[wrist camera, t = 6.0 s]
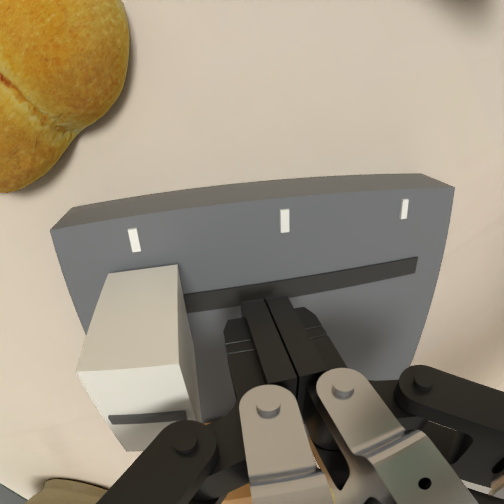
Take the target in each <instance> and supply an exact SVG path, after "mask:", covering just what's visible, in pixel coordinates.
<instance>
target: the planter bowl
mask: <svg viewBox="0 0 504 504" xmlns="http://www.w3.org/2000/svg"><path fill="white" fill-rule="evenodd" d="M107 491H108V490H105V489H102V488H99V487H96V486H93V485H89V484H85V483H81V482H76V481H70V480H62V479H52V480H48V481H46V482H45V484H44V487H43V490H42V491H41V492H39V493H37V494H36V495H34V496H33V497H32V498H30V499H29V500H28V501H27V502H26V503H25V504H96V503H97V502H98V501H99V500H100V498H101V497H102V496H103V495H104V494H105V493H106V492H107Z"/></svg>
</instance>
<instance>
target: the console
mask: <svg viewBox="0 0 504 504" xmlns="http://www.w3.org/2000/svg"><path fill="white" fill-rule="evenodd" d="M454 190H455V187H453V186H450V185H448V184H446V183H443V182H441V181H438V180H436V179H433V178H431V177H428V176H426V175H423V174H373V175H347V176H327V177H311V178H296V179H283V180H270V181H259V182H248V183H238V184H229V185H220V186H211V187H202V188H194V189H186V190H178V191H171V192H164V193H157V194H150V195H143V196H137V197H130V198H124V199H118V200H112V201H106V202H100V203H95V204H89V205H84V206H79V207H73V208H71V209H70V210H69V211H68V212H67V213H66V214H65V215H64V216H63V217H62V218H61V219H60V220H59V221H58V222H57V223H56V224H55V225H54V226H53V227H52V229H51V230H50V233H51V236H52V240H53V243H54V247H55V250H56V254H57V257H58V260H59V263H60V266H61V270H62V273H63V276H64V279H65V281H66V284H67V287H68V290H69V293H70V296H71V298H72V301H73V304H74V306H75V309H76V312H77V314H78V317H79V319H80V322H81V324H82V326H83V329H84V331H85V334H86V335H87V332H88V329H89V326H90V323H91V320H92V317H93V314H94V311H95V308H96V305H97V303H98V300H99V297H100V294H101V291H102V289H103V286H104V283H105V281H106V278H107V276H108V274H109V273H116V272H124V271H131V270H139V269H146V268H154V267H161V266H169V265H176V264H178V269H179V275H180V281H181V286H182V291H183V297H184V302H185V307H186V312H187V317H188V322H189V326H190V331H191V336H192V340H193V345H194V354H195V364H196V374H197V384H198V393H199V401H200V410H201V418H202V423H203V424H204V423H211V422H214V421H216V420H218V419H220V418H222V417H224V416H225V415H227V414H228V413H229V412H230V411H231V410H232V408H233V407H234V405H235V403H236V398H235V393H234V389H233V384H232V380H231V375H230V371H229V366H228V360H227V353H226V346H225V339H224V332H223V331H224V328H225V326H226V323H227V320H230V319H236V318H242V317H241V302H245V301H251V300H257V299H264V298H269V297H275V296H281V295H287V296H288V298H289V300H290V302H291V304H292V306H293V307H294V308H299V307H305V308H307V309H308V310H309V311H311V312H312V313H314V314H315V315H316V316H317V318H318V320H319V321H320V323H321V325H322V327H323V328H324V329H325V331H326V333H327V336H329V338H330V339H331V341H332V343H333V344H334V346H335V347H336V349H337V351H338V352H339V354H340V356H341V357H342V359H343V361H344V362H345V364H346V366H347V367H348V368H349V369H353V370H355V371H358V372H359V373H361V374H362V375H363V376H364V377H365V378H366V379H367V380H373V381H381V380H399V377H400V375H401V373H402V372H403V371H404V370H405V369H406V368H408V367H410V365H411V362H412V360H413V357H414V354H415V351H416V349H417V346H418V343H419V340H420V337H421V334H422V331H423V328H424V325H425V322H426V318H427V315H428V312H429V308H430V305H431V301H432V298H433V294H434V291H435V287H436V283H437V279H438V275H439V271H440V267H441V262H442V258H443V253H444V249H445V244H446V239H447V234H448V228H449V223H450V217H451V211H452V204H453V197H454ZM304 427H305V431H306V434H307V437H308V436H309V432H308V430H307V427H306V425H305V424H304Z"/></svg>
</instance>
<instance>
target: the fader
mask: <svg viewBox="0 0 504 504" xmlns="http://www.w3.org/2000/svg"><path fill="white" fill-rule="evenodd" d="M76 373H77V375H78V377H79V379H80V380H81V382H82V384H83V386H84V387H85V389H86V391H87V393H88V394H89V396H90V398H91V399H92V401H93V403H94V404H95V406H96V407H97V409H98V411H99V412H100V414H101V415H102V417H103V418H104V420H105V421H106V423H107V424H108V426H109V427H110V429H111V430H112V432H113V433H114V435H115V436H116V438H117V439H118V440H119V442H120V443H121V445H122V446H123V447H124V449H125V450H126V451H144V450H145V449H146V448H147V447H148V446H149V444H150V443H151V442H152V441H153V440H154V439H155V438H156V436H157V435H158V434H159V433H160V432H161V431H162V430H163V429H164V428H165V427H166V426H168V425H169V424H171V423H174V422H177V421H181V420H194V421H198V422H201V423H202V418H201V410H200V401H199V393H198V384H197V374H196V364H195V354H194V345H193V340H192V336H191V331H190V326H189V322H188V317H187V312H186V307H185V302H184V297H183V291H182V286H181V281H180V275H179V269H178V264H176V265H169V266H161V267H154V268H146V269H139V270H131V271H124V272H116V273H109V274H108V276H107V278H106V281H105V283H104V286H103V289H102V291H101V294H100V297H99V300H98V303H97V305H96V308H95V311H94V314H93V317H92V320H91V323H90V326H89V329H88V332H87V335H86V338H85V342H84V345H83V348H82V351H81V355H80V358H79V362H78V365H77V369H76Z"/></svg>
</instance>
